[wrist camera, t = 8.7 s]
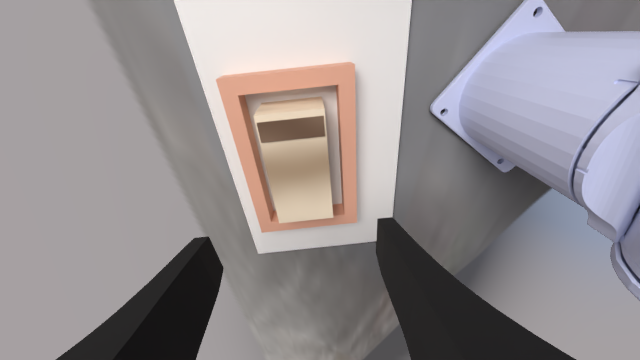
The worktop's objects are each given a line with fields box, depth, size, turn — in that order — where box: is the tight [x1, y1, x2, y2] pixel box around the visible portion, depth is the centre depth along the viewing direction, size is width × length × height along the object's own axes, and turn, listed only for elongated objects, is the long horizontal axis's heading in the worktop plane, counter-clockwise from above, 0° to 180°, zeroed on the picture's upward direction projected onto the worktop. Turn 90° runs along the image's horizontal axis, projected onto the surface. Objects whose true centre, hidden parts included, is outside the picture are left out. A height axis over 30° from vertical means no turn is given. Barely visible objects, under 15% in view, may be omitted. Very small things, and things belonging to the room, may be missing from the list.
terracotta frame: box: [216, 62, 357, 233], centre depth 17 cm, size 12×8×2 cm, turn 5°
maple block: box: [253, 96, 333, 223], centre depth 17 cm, size 8×4×3 cm, turn 5°
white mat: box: [174, 0, 412, 254], centre depth 17 cm, size 13×26×1 cm, turn 5°
